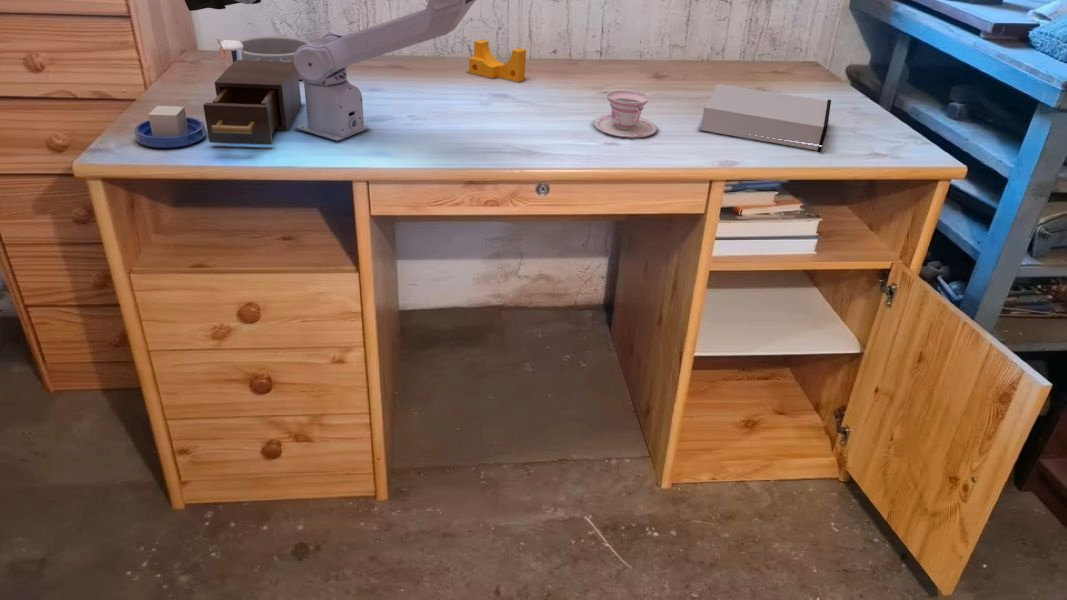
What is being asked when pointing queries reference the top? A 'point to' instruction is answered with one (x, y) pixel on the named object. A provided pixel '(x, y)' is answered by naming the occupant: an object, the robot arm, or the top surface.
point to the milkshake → (230, 52)
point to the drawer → (243, 116)
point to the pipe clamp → (497, 63)
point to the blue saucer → (191, 137)
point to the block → (168, 121)
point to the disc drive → (766, 116)
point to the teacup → (626, 115)
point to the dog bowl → (272, 49)
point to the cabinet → (266, 83)
